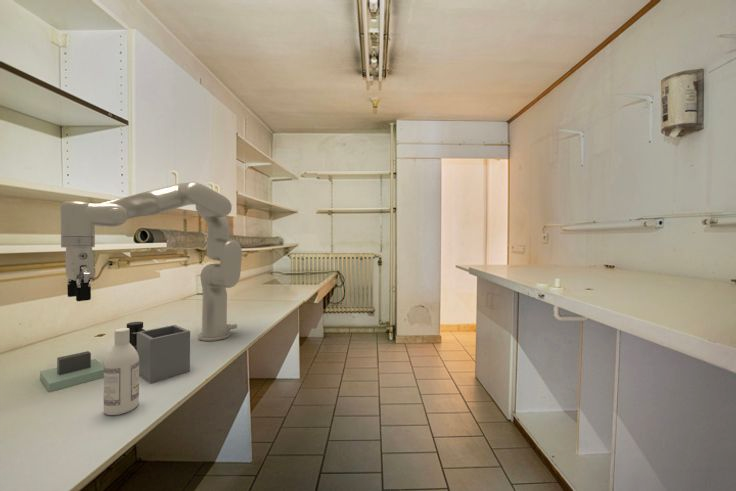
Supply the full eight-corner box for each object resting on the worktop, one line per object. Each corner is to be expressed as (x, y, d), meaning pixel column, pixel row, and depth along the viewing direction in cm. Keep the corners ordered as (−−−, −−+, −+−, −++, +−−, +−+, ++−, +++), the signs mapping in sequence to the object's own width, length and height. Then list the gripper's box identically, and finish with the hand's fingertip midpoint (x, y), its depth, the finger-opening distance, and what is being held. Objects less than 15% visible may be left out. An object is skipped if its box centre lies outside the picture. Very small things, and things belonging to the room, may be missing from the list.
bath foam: (134, 398, 83) (135, 323, 82) (142, 408, 78) (142, 329, 78) (100, 408, 77) (101, 329, 77) (106, 419, 73) (107, 335, 73)
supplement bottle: (133, 361, 107) (133, 326, 107) (117, 359, 108) (117, 324, 108) (150, 353, 114) (151, 321, 113) (135, 352, 115) (135, 319, 115)
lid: (95, 365, 102) (95, 345, 102) (107, 376, 95) (107, 354, 95) (40, 379, 92) (40, 356, 92) (49, 392, 85) (49, 367, 85)
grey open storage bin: (174, 362, 106) (175, 324, 106) (189, 371, 100) (190, 331, 100) (136, 373, 98) (136, 332, 97) (150, 383, 91) (150, 339, 91)
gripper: (103, 243, 92) (103, 300, 93) (86, 241, 102) (87, 293, 103) (68, 243, 86) (69, 304, 87) (54, 241, 96) (55, 296, 97)
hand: (79, 298), depth 95 cm, fingers open, 9 cm apart
